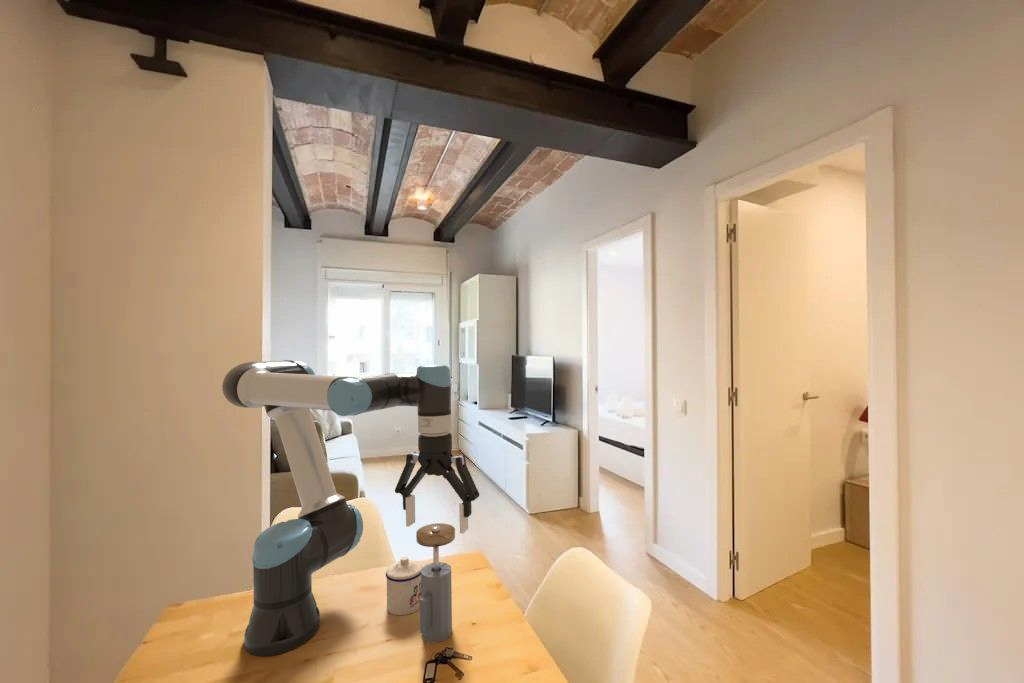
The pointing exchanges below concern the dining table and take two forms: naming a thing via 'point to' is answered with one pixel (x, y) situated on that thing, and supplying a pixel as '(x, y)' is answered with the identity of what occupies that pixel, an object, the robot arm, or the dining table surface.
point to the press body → (436, 603)
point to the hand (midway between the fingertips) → (436, 527)
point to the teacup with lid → (404, 586)
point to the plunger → (435, 538)
